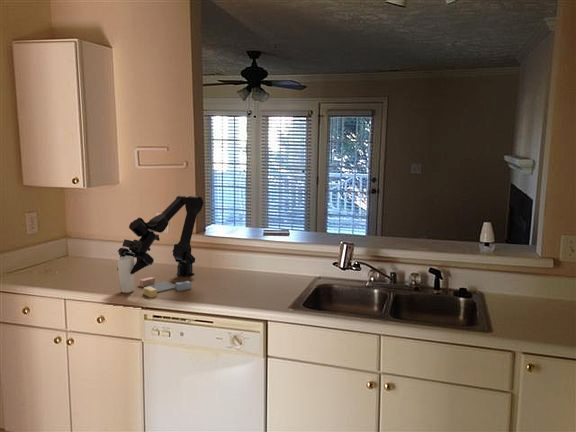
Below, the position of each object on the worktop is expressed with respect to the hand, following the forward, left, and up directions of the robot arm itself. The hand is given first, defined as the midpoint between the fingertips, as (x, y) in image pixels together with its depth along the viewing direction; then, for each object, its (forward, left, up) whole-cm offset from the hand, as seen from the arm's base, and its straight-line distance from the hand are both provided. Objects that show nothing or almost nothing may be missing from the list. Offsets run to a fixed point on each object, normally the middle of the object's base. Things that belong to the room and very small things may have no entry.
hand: (124, 272), depth 207 cm
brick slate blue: (-21, +13, -9) cm, 26 cm away
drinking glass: (-1, 0, -9) cm, 9 cm away
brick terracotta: (-12, -3, -9) cm, 16 cm away
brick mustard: (-6, +11, -9) cm, 15 cm away
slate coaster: (-15, +5, -9) cm, 18 cm away
